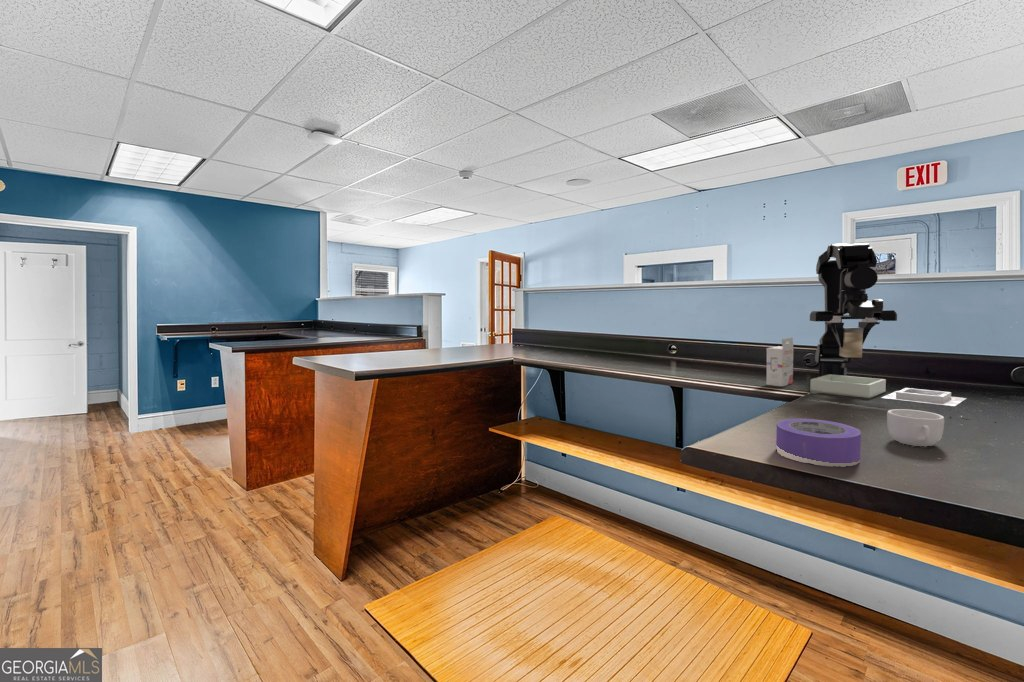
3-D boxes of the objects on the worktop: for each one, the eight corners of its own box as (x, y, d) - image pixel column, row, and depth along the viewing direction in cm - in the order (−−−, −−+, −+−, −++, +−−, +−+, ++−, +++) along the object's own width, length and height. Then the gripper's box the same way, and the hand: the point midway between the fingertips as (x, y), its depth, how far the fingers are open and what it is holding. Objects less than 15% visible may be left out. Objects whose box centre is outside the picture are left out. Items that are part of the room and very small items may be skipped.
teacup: (880, 435, 88) (881, 407, 88) (932, 440, 85) (933, 411, 85) (898, 451, 79) (899, 420, 79) (957, 456, 76) (958, 424, 75)
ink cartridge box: (776, 381, 150) (777, 336, 149) (793, 383, 147) (794, 337, 145) (765, 385, 145) (766, 338, 144) (782, 386, 141) (783, 338, 140)
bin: (810, 393, 130) (810, 379, 130) (828, 387, 138) (828, 374, 138) (869, 400, 119) (869, 385, 119) (885, 393, 128) (885, 379, 127)
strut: (844, 357, 127) (845, 328, 126) (839, 355, 130) (839, 327, 130) (862, 357, 125) (863, 327, 125) (856, 355, 129) (857, 327, 129)
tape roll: (843, 474, 69) (844, 441, 69) (763, 454, 79) (763, 425, 78) (871, 457, 76) (872, 427, 76) (794, 442, 86) (795, 415, 85)
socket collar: (880, 399, 120) (881, 391, 120) (896, 393, 128) (896, 385, 128) (954, 408, 109) (955, 399, 108) (966, 400, 117) (967, 392, 117)
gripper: (823, 290, 122) (821, 349, 123) (909, 288, 116) (906, 350, 117) (809, 291, 132) (808, 346, 133) (887, 289, 127) (885, 346, 128)
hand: (850, 347), depth 128 cm, fingers closed on strut, 4 cm apart
